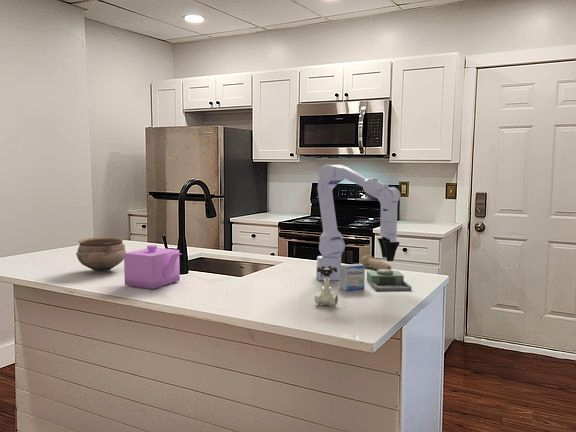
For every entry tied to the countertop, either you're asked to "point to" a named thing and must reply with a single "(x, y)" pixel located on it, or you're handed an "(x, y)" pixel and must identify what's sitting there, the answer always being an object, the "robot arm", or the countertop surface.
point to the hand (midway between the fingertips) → (387, 259)
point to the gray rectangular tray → (391, 287)
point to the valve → (326, 288)
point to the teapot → (151, 267)
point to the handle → (374, 263)
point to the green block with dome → (385, 277)
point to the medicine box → (352, 277)
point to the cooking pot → (101, 253)
